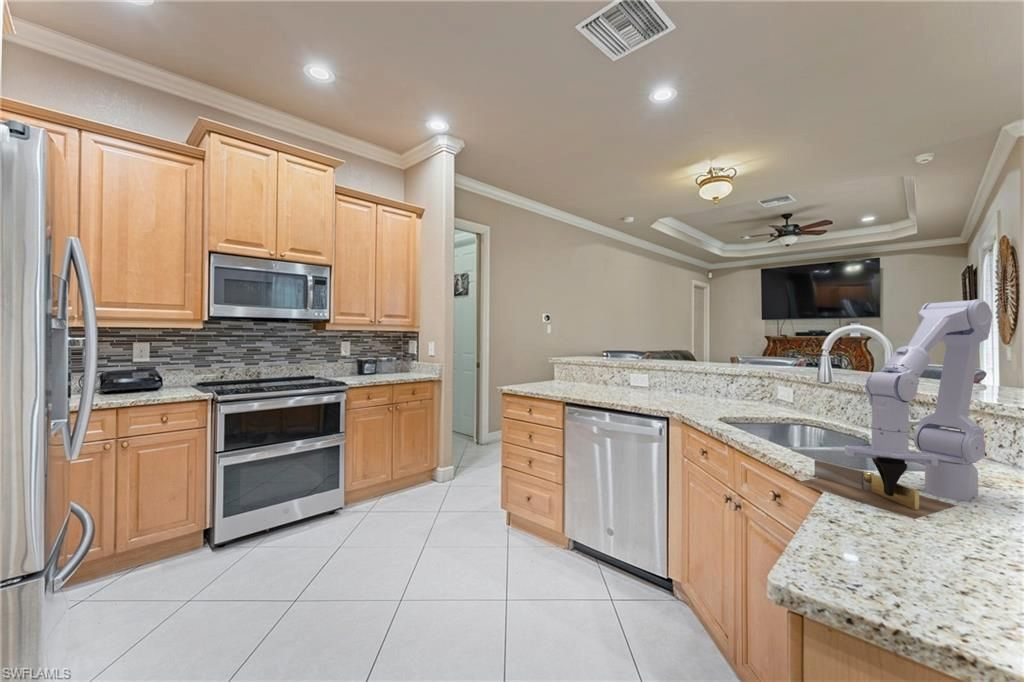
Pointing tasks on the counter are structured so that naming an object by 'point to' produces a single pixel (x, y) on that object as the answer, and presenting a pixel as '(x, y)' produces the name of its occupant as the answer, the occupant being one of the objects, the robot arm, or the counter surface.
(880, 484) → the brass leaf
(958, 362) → the robot arm
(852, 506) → the counter surface
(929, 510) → the hinge base
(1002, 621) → the counter surface
